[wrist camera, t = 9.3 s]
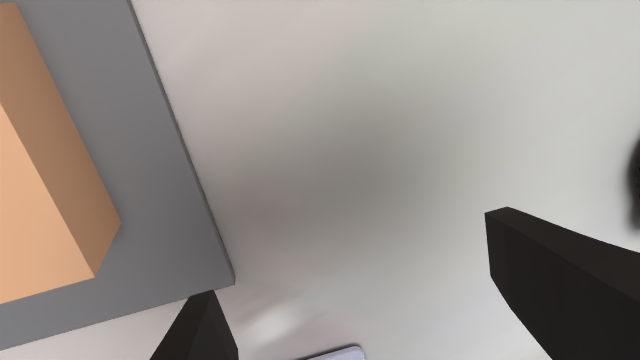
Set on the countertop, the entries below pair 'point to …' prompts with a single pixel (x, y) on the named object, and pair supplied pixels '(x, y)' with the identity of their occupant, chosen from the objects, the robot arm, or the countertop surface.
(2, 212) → the card case
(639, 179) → the tape measure
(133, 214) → the mat
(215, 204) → the countertop surface
